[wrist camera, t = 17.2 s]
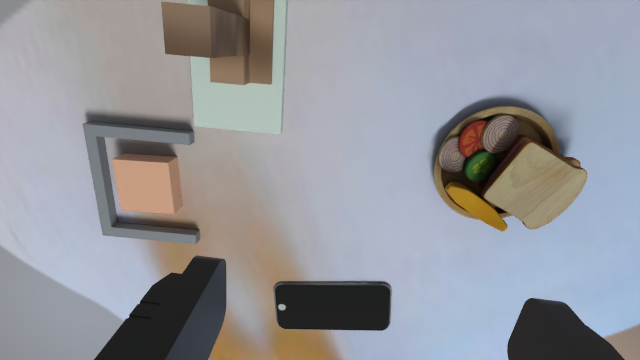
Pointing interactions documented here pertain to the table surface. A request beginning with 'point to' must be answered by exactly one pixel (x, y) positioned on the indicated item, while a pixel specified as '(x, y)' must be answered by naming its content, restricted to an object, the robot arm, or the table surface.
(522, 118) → the toy sandwich meal
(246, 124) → the board
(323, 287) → the smartphone
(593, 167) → the table surface
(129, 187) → the tile
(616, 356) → the robot arm
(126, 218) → the table surface
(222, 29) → the brown block
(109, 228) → the bay
